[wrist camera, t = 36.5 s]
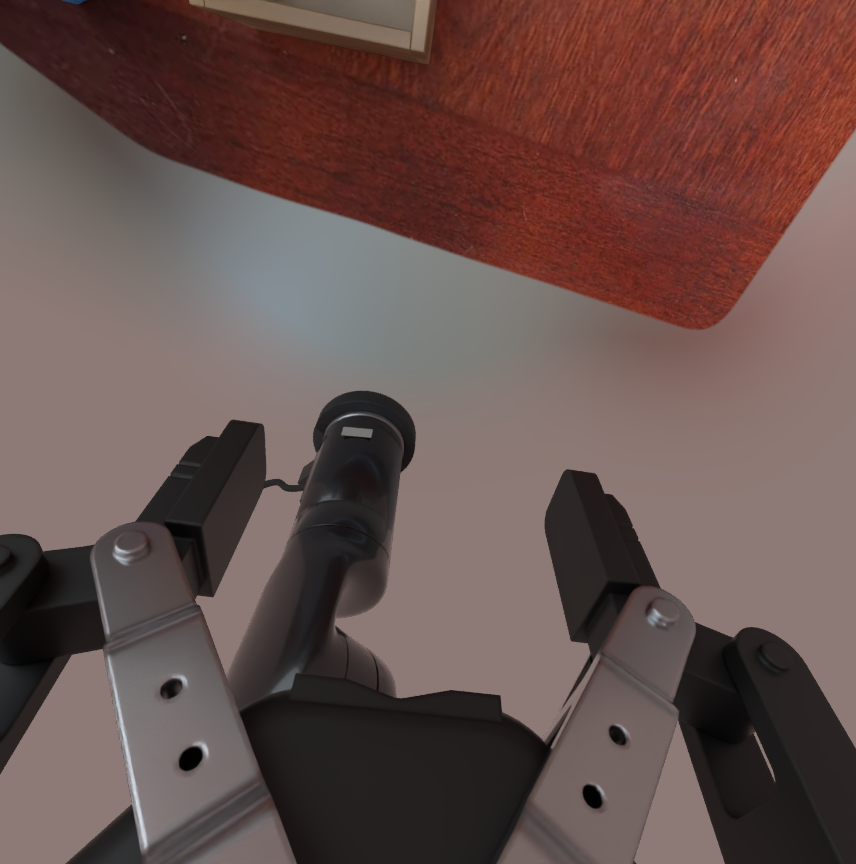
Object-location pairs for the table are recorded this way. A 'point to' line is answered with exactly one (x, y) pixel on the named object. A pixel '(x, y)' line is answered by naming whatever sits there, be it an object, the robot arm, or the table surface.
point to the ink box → (74, 1)
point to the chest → (341, 22)
